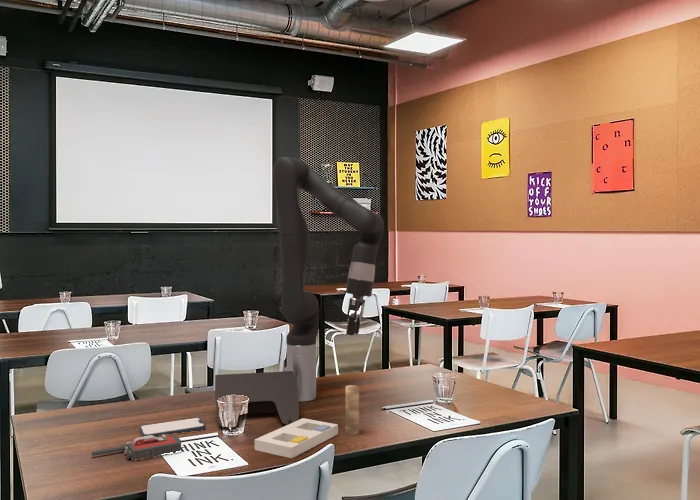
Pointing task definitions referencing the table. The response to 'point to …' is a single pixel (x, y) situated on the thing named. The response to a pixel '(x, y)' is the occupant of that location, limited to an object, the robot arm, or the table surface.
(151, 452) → the walkie-talkie
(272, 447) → the socket plate
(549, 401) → the table surface
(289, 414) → the portable electronic device stand
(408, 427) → the table surface
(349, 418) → the dowel
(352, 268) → the robot arm
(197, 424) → the phone case
